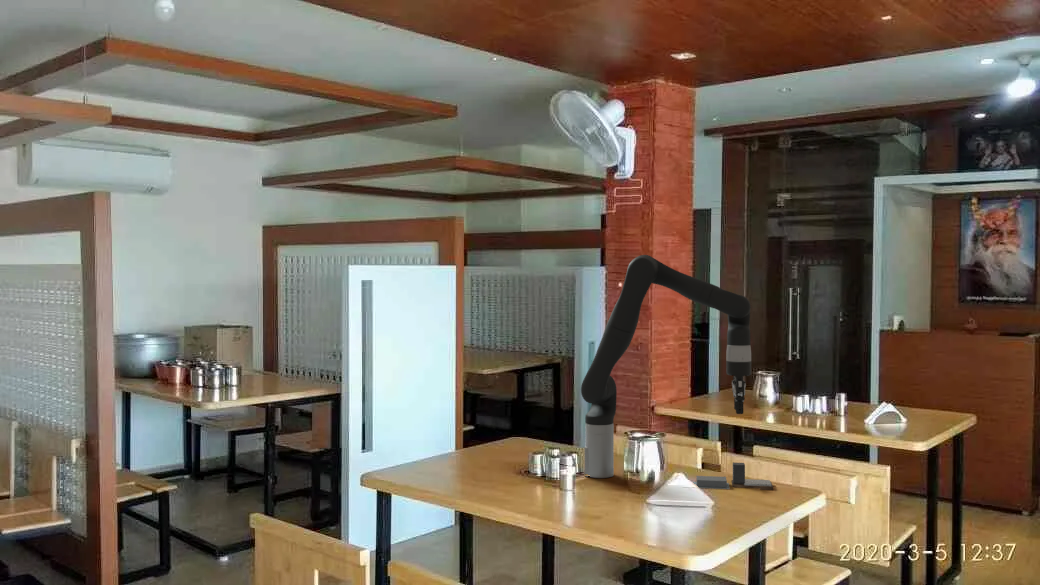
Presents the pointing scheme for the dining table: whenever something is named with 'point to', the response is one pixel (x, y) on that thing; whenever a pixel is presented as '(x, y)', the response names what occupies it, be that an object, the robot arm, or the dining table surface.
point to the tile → (711, 481)
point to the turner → (740, 477)
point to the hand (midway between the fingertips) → (738, 411)
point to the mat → (714, 487)
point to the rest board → (752, 486)
